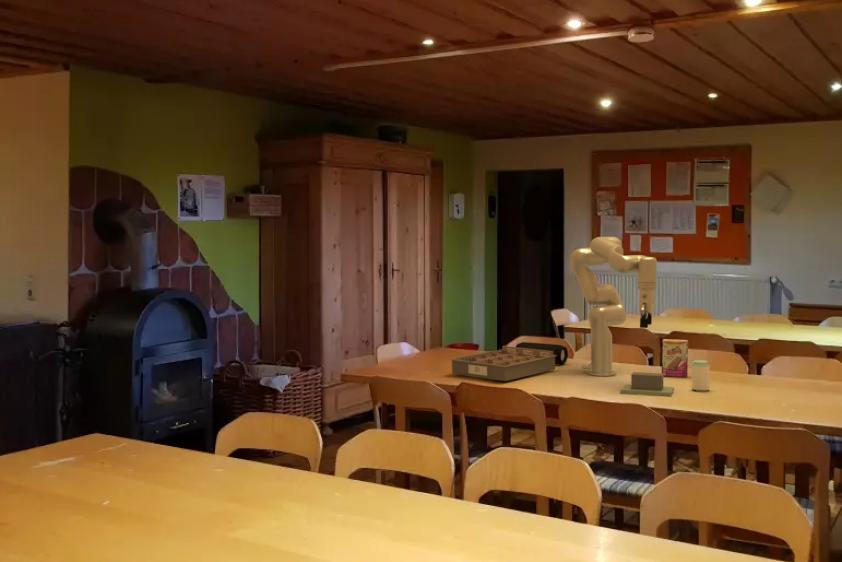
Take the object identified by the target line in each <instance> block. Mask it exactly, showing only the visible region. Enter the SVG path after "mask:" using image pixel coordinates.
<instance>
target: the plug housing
mask: <svg viewBox="0 0 842 562" xmlns="http://www.w3.org/2000/svg"><path fill="white" fill-rule="evenodd" d="M630 379H631V381H630V382H631V384H630V385H631V389H640V390H658V391H662V389H663V387H664V376H663V373H662V372H660V373H659V372H639V371H633V372H632V373H631V377H630Z"/></svg>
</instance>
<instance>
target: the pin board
mask: <svg viewBox="0 0 842 562" xmlns="http://www.w3.org/2000/svg"><path fill="white" fill-rule="evenodd" d="M673 391H675V387H674V386H663V389H662V391H658V390H640V389H631V384H624V385H623V386H622V387H621V388H620V389H619V393H620V394H621V395H623V394H624V395H637V394H646V395H645V396H654V395H662V396H661V397H672V396H671V395H673V394H672V393H674V392H673Z"/></svg>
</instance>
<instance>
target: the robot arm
mask: <svg viewBox="0 0 842 562" xmlns="http://www.w3.org/2000/svg"><path fill="white" fill-rule="evenodd" d="M569 260H570V261H569V262H570V267H571V271H572V273H573V274H574V276H575V277H576V279H577V282H578V284H579V287H580V289H581V292H582V296H583V297H584V299H585V302H586V304H587V305H589V306H593V307H592V308H591V309H589V310H588V311H589V312H588V322H589V327H590V346H591V347H590V363H589V364H581V369H583V370H587V374H588V375H589V376H593V377H611V376H615V375H616V371H615V370H613V335H612V332H611V330H610V329H609V327H610V326H619V325H622V324H624V323H625V322H626V319H627V318H626V317H627V312H626V310H625V306H624V304H623V302H622V299H621V297H620V294H619V292H618V290H617V288H616V287H615V286H614V285H613V284H610V283H609V284H607V283H605V284H604V283H603V284H601V283H600V282H599V280H598V278H597V276H596V274H595V272H594V271H593V270H592V269H590V268H589V267H590V266H591V267H593V266H602V265H607V263H608V265H609V267H610V268H611V269H613V270H614V271H616V272H618V273H620V274H621V273H622V274H632V273H633V274H636V273H637V290H639V291H640V292H639V314H640V315H639V316H640V318H639V328H641V329H648V327H649V326H650V325H652V317H653V315H652V313H653V312H655V291H657V267H658V266H657V265H658V261H657V258H656V257H653V256H646V255H641V254H638V255H636V254H635V255H634V254H633V255H624V248H623V245H622V241H621V240H620V239H619V238H618V237H617V236H598V237H595V238H593V239H592V240H591V242H590V243H589V247H580V248H577V249H574V250H573V252H572V253H571V255H570V259H569Z"/></svg>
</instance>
